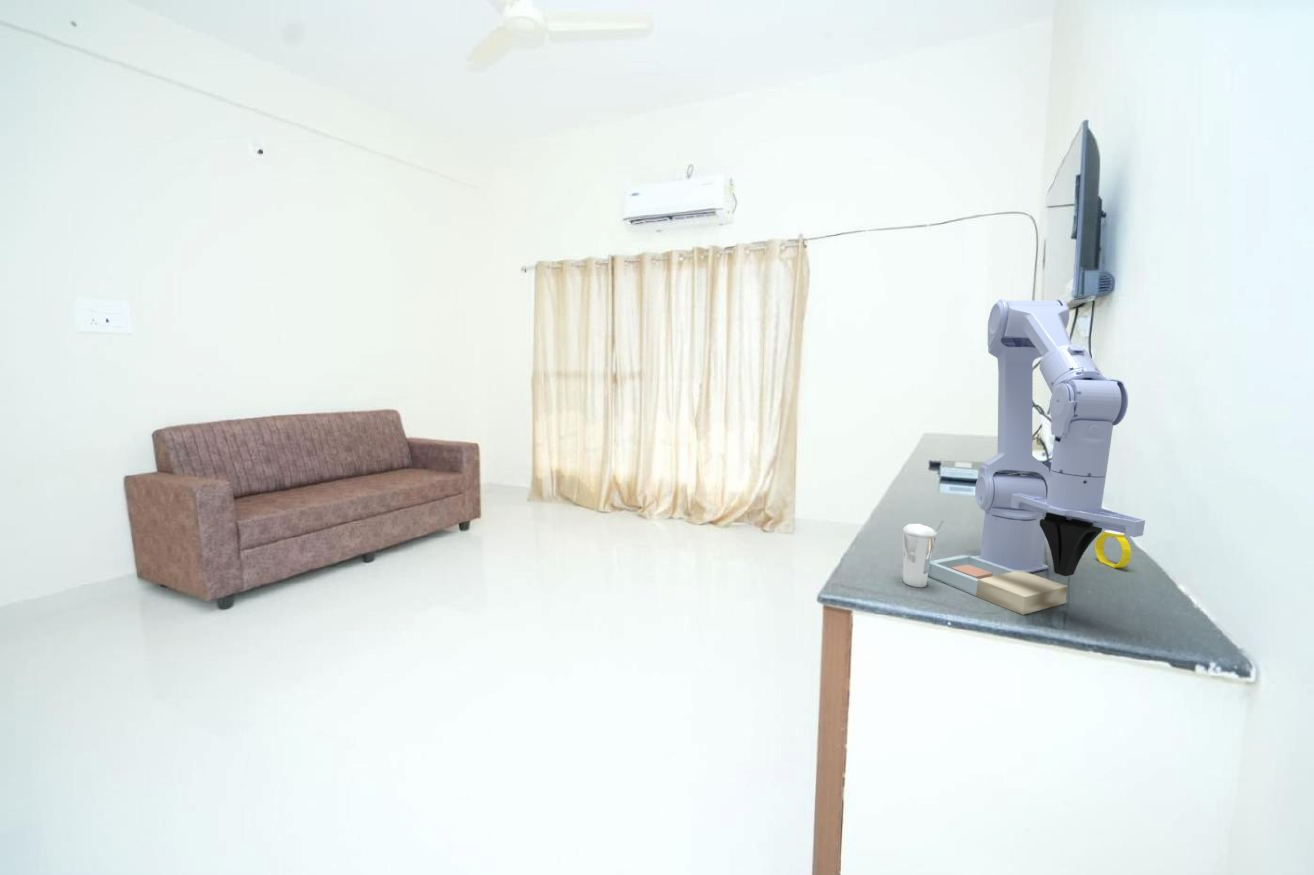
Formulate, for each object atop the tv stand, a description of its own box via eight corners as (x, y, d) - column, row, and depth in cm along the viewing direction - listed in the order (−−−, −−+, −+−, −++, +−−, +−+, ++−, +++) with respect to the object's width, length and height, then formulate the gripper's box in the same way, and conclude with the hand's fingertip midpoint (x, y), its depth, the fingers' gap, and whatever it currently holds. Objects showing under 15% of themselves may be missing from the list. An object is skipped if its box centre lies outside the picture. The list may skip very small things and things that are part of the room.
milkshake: (941, 591, 80) (948, 525, 78) (902, 587, 81) (908, 521, 80) (932, 580, 84) (938, 517, 83) (895, 576, 85) (900, 514, 84)
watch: (1089, 560, 97) (1091, 527, 96) (1104, 561, 97) (1107, 528, 96) (1117, 570, 91) (1120, 535, 90) (1134, 571, 91) (1137, 536, 90)
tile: (992, 573, 83) (991, 582, 83) (968, 564, 86) (967, 573, 87) (975, 576, 81) (974, 586, 81) (951, 567, 85) (950, 576, 85)
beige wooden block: (1018, 586, 83) (1020, 570, 82) (1065, 603, 77) (1067, 586, 77) (976, 596, 78) (977, 579, 78) (1022, 614, 73) (1024, 597, 72)
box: (966, 567, 90) (967, 554, 90) (1018, 586, 83) (1020, 572, 82) (924, 575, 86) (925, 561, 86) (976, 596, 78) (977, 581, 78)
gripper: (1002, 464, 75) (991, 559, 77) (1128, 486, 62) (1112, 600, 64) (1032, 462, 78) (1021, 553, 80) (1159, 482, 65) (1143, 591, 67)
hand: (1063, 573), depth 72 cm, fingers closed
